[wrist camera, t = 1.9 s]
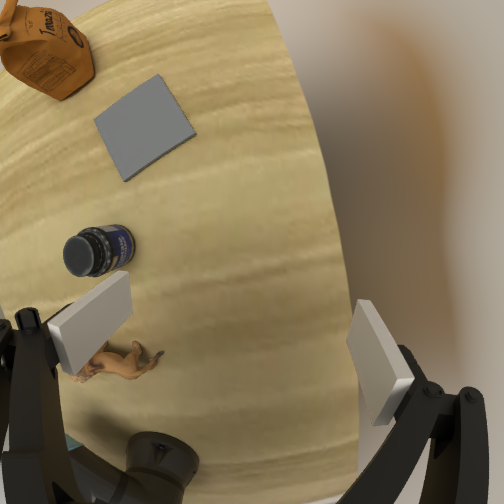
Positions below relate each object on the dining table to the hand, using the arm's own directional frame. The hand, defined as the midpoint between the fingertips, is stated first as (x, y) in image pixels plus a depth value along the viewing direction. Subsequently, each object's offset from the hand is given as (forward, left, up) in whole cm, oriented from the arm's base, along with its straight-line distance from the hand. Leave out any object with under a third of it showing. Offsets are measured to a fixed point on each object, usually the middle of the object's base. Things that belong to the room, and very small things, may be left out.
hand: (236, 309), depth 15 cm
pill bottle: (-15, +10, -23) cm, 30 cm away
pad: (-3, +23, -23) cm, 33 cm away
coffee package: (-9, +43, -23) cm, 50 cm away
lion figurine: (-26, -4, -23) cm, 35 cm away
